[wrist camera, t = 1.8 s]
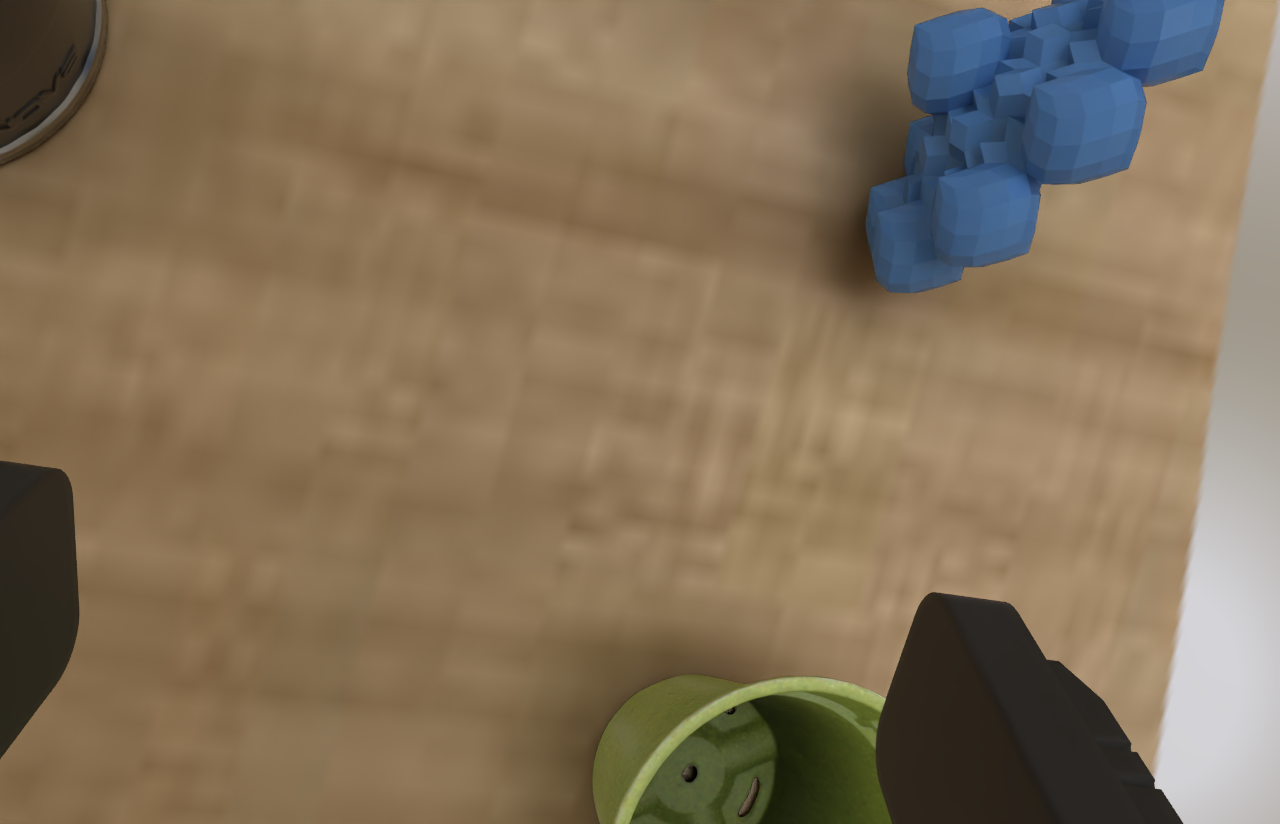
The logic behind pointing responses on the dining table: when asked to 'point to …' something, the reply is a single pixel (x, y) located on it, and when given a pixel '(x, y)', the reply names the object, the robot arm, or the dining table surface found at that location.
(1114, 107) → the grapes
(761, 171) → the dining table surface
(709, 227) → the dining table surface
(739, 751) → the plant pot
